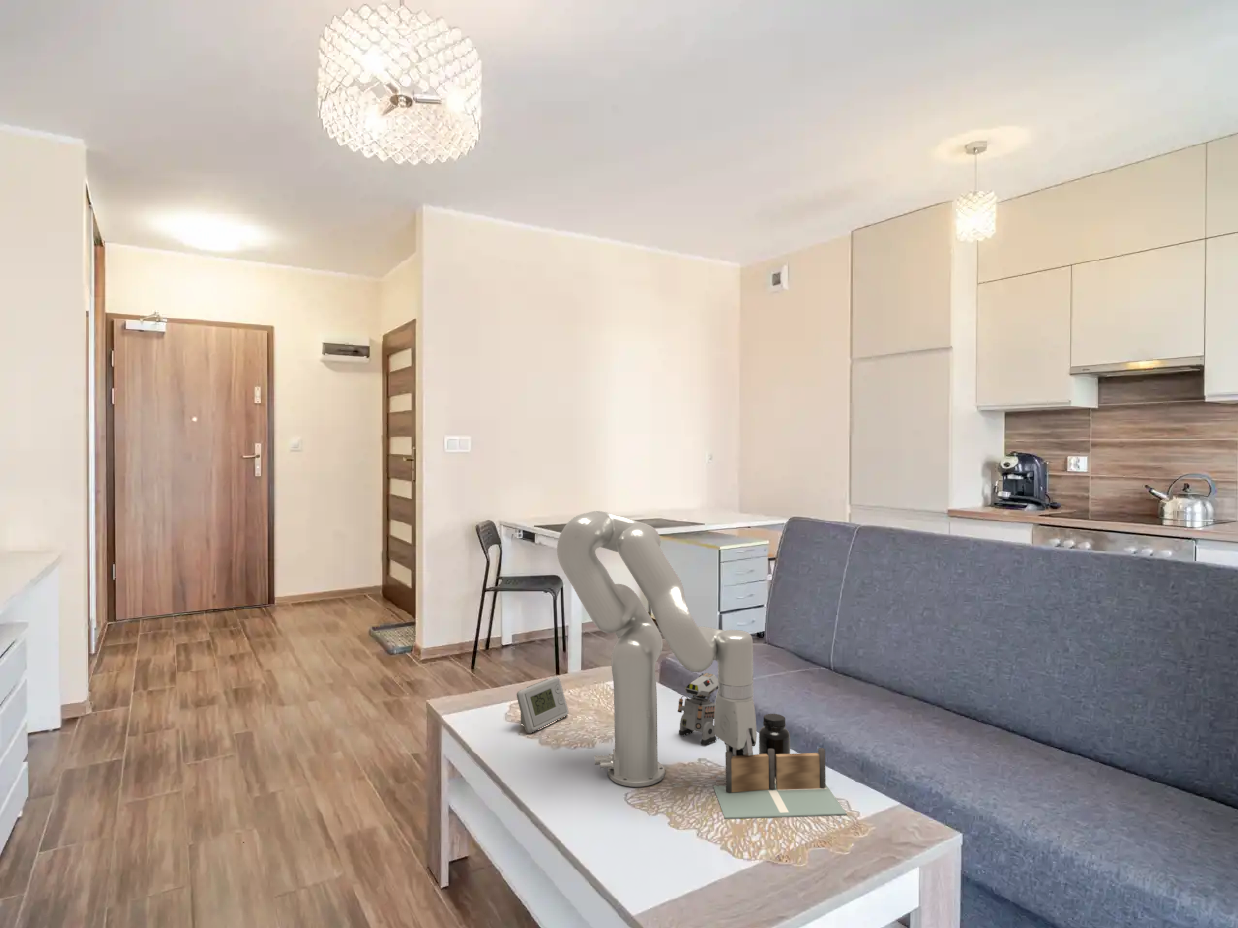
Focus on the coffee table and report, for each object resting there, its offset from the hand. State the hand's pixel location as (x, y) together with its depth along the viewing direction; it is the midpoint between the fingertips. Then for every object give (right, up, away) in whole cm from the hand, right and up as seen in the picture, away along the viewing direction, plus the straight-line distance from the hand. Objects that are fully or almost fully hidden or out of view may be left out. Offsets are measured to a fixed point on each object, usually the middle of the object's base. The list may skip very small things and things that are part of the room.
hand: (736, 774), depth 148 cm
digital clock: (-45, -3, +36) cm, 58 cm away
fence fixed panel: (+13, -2, -3) cm, 14 cm away
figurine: (-4, -2, +26) cm, 26 cm away
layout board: (+7, -2, -7) cm, 10 cm away
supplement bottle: (+10, -2, +6) cm, 12 cm away
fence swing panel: (+2, -2, -4) cm, 5 cm away
